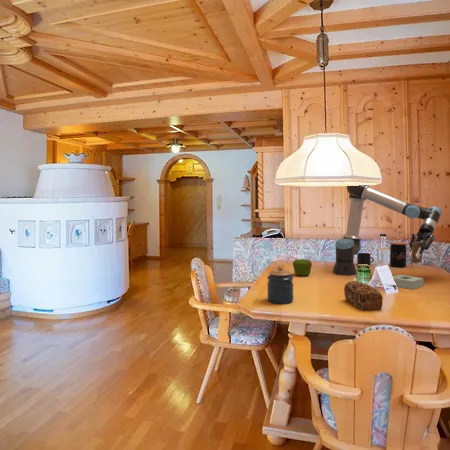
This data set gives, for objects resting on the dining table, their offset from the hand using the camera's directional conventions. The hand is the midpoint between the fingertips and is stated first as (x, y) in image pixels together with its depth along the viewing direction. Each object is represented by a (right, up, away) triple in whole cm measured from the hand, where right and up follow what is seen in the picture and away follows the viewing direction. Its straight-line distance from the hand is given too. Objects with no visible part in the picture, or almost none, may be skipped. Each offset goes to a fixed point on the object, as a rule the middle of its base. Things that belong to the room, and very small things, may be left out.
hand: (413, 256), depth 211 cm
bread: (-46, -19, -41) cm, 65 cm away
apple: (-60, -15, +29) cm, 68 cm away
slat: (+3, -3, +3) cm, 5 cm away
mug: (-4, -12, +62) cm, 64 cm away
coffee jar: (+18, -12, +56) cm, 60 cm away
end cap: (-7, -16, -4) cm, 18 cm away
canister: (-84, -19, -33) cm, 93 cm away
